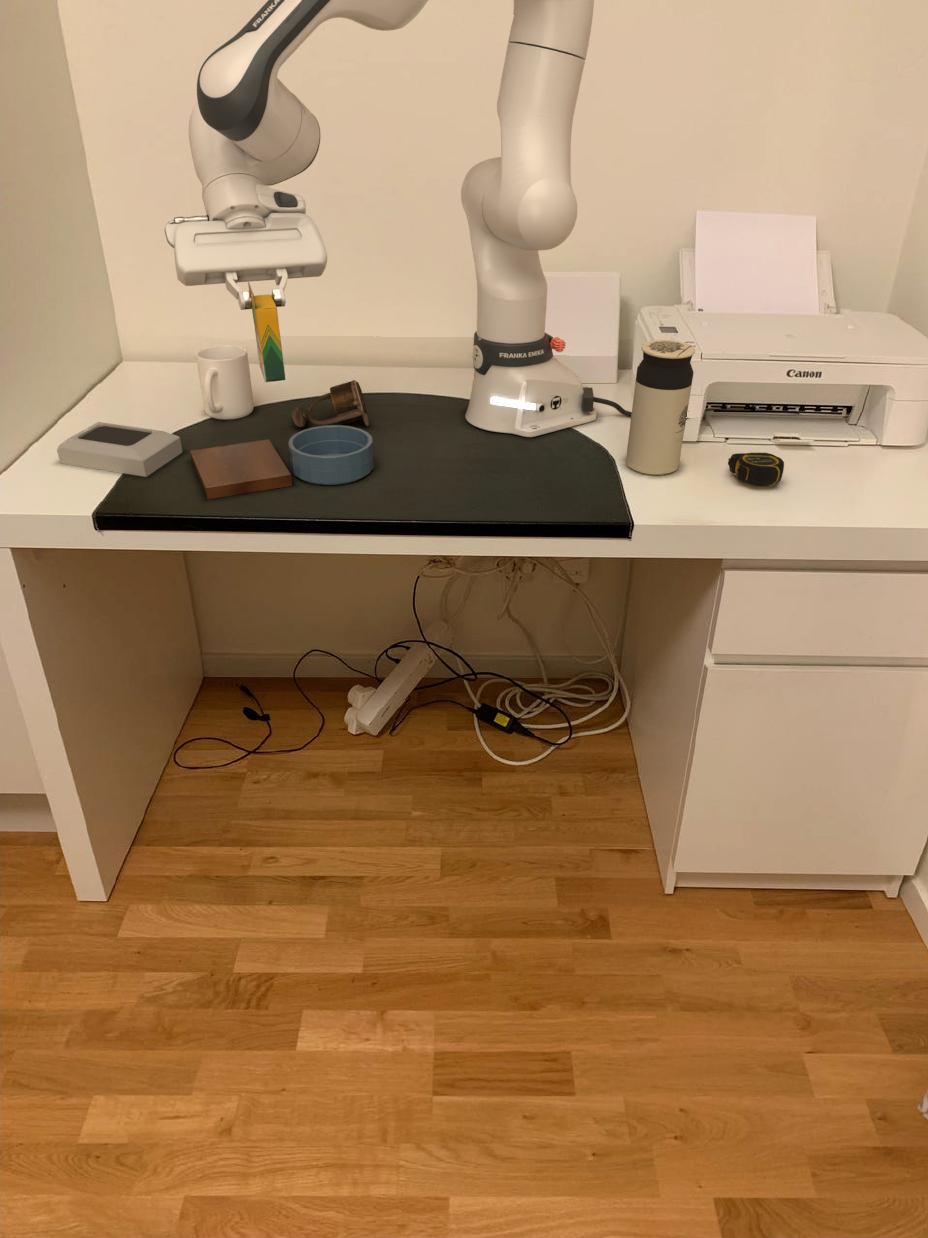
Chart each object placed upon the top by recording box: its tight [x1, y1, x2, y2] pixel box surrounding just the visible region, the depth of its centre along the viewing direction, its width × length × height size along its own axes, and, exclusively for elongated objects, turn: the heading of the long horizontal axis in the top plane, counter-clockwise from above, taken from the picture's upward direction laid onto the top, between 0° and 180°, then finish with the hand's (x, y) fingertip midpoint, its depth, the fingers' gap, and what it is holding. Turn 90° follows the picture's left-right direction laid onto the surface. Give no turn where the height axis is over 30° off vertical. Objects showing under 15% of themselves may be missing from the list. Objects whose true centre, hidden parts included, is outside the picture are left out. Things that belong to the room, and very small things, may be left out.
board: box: [189, 439, 293, 500], centre depth 129 cm, size 12×14×2 cm
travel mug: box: [625, 339, 696, 476], centre depth 128 cm, size 8×8×18 cm
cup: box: [195, 344, 255, 420], centre depth 146 cm, size 8×12×10 cm
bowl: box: [288, 424, 375, 486], centre depth 130 cm, size 12×12×4 cm
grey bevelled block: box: [56, 421, 183, 478], centre depth 132 cm, size 10×4×15 cm
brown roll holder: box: [291, 379, 370, 429], centre depth 144 cm, size 7×13×10 cm
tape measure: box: [727, 452, 785, 487], centre depth 128 cm, size 7×7×4 cm
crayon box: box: [247, 282, 286, 383], centre depth 118 cm, size 7×3×12 cm, turn 17°
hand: (263, 305), depth 117 cm, fingers closed on crayon box, 3 cm apart
